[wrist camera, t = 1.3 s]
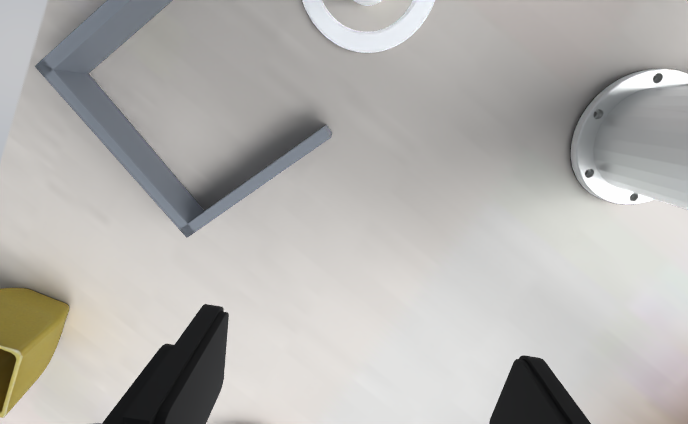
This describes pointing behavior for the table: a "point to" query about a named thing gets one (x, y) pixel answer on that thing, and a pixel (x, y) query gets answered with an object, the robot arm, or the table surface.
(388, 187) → the table surface
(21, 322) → the flower pot
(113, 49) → the box
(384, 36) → the candle holder
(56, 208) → the table surface
